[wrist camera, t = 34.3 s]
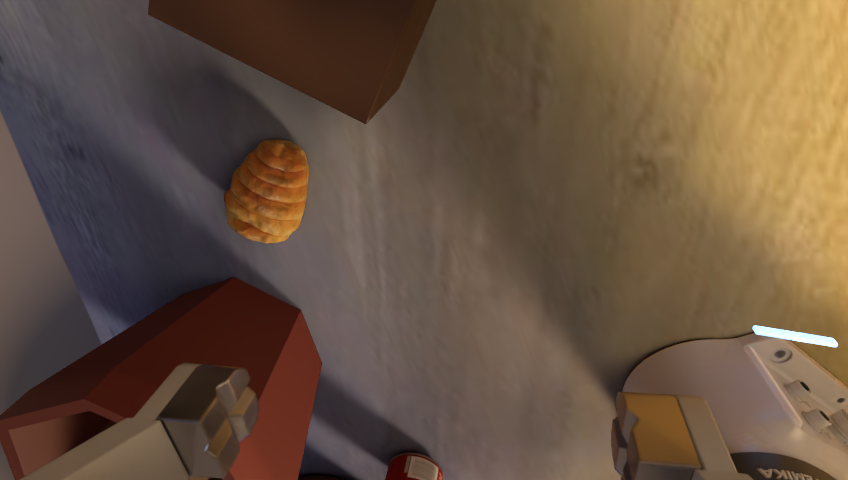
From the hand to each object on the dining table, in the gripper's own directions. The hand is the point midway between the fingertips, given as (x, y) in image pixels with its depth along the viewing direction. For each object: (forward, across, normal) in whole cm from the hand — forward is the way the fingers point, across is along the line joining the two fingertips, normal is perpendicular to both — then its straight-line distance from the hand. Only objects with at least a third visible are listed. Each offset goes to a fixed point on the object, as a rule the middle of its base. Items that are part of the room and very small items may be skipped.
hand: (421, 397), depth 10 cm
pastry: (+29, +19, +8) cm, 36 cm away
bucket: (+29, +26, +26) cm, 48 cm away
